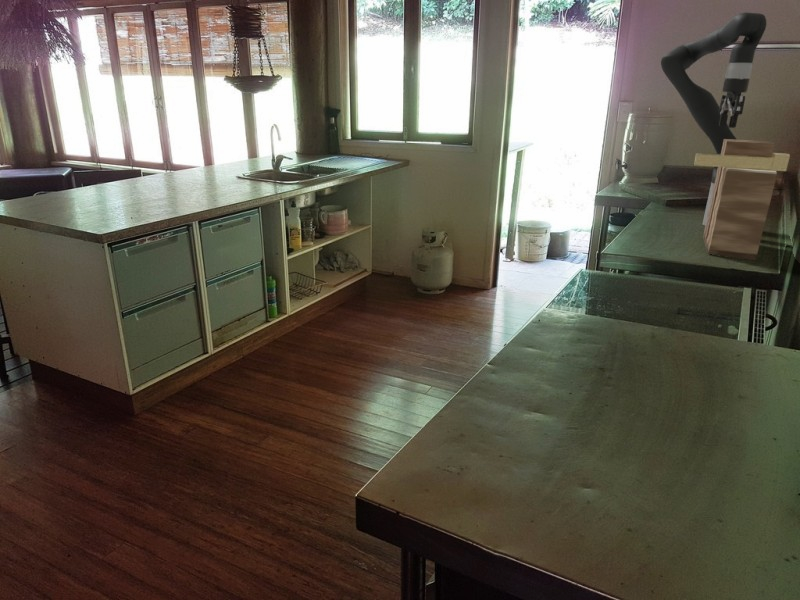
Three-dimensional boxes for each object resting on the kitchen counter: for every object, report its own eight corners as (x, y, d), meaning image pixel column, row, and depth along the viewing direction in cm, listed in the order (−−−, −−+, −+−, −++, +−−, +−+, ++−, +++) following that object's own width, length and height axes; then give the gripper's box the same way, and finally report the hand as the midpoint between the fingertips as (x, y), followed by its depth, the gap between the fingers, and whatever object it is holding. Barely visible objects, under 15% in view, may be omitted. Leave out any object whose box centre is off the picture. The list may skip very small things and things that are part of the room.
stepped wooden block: (702, 237, 215) (723, 138, 203) (744, 242, 210) (769, 141, 198) (708, 254, 193) (732, 144, 180) (755, 260, 188) (783, 147, 175)
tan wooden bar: (693, 163, 193) (696, 148, 192) (782, 169, 184) (786, 153, 182) (694, 165, 189) (697, 149, 187) (785, 171, 180) (790, 155, 178)
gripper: (717, 77, 203) (708, 125, 209) (734, 77, 190) (723, 127, 196) (740, 78, 202) (730, 125, 208) (758, 77, 189) (746, 128, 195)
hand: (726, 126), depth 202 cm, fingers open, 8 cm apart
